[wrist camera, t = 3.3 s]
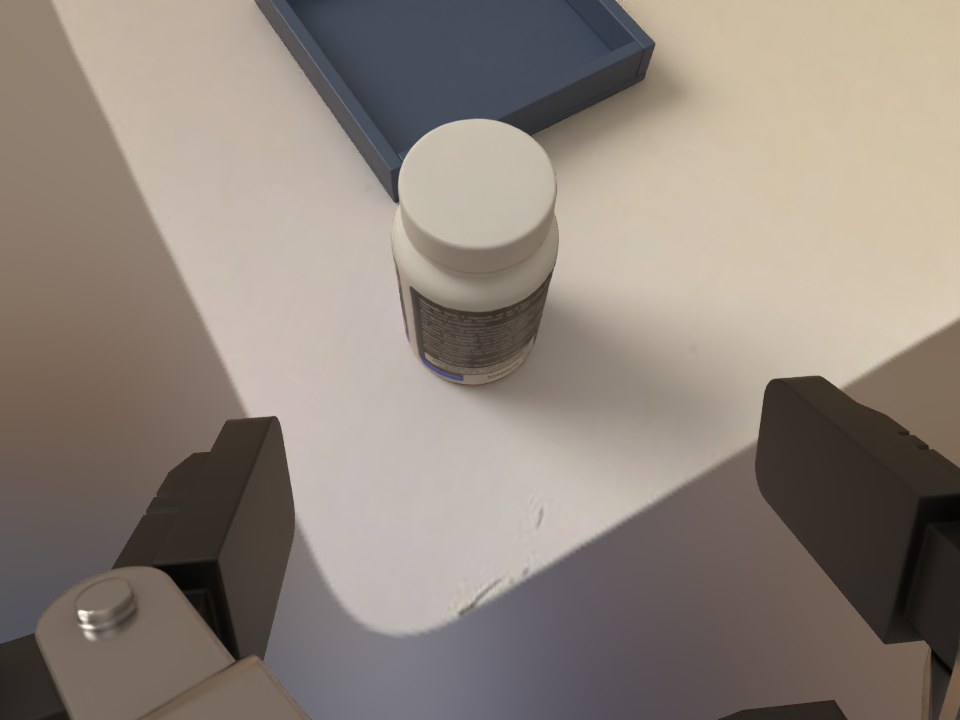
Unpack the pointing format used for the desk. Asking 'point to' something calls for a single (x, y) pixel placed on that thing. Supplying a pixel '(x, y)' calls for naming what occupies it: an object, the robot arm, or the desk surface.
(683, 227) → the desk surface
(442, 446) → the desk surface
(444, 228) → the pill bottle
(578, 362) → the desk surface
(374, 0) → the blue tray
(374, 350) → the desk surface
